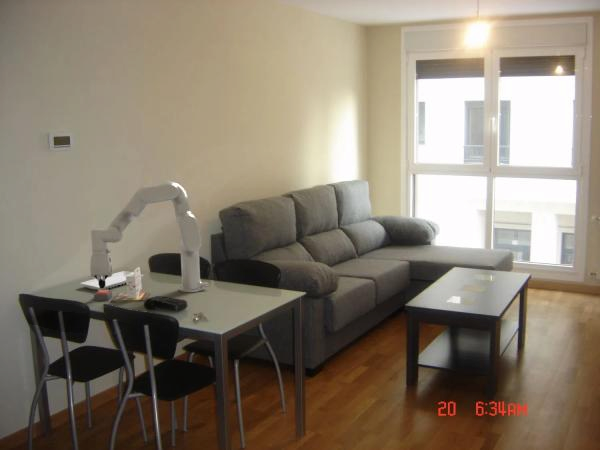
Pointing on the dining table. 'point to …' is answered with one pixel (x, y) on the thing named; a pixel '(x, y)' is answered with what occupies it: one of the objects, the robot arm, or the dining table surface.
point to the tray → (108, 281)
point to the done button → (102, 292)
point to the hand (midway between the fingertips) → (102, 287)
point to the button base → (103, 297)
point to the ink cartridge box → (134, 284)
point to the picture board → (123, 298)
